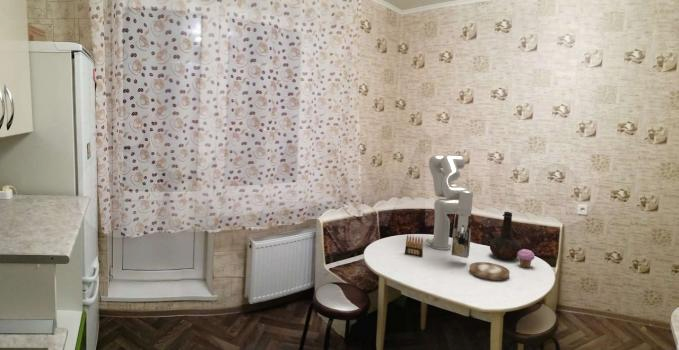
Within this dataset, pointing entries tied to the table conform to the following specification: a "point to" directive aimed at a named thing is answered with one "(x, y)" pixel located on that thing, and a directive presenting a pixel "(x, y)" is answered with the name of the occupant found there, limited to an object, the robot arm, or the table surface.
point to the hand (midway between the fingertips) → (461, 241)
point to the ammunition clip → (414, 247)
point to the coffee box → (458, 248)
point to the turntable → (489, 270)
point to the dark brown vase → (505, 241)
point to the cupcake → (525, 257)
